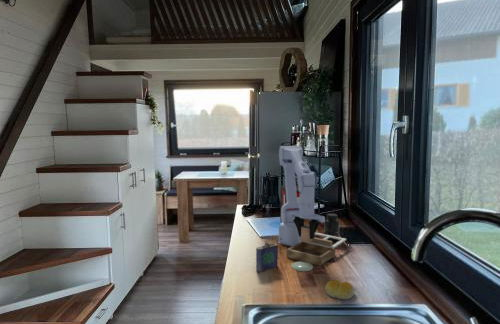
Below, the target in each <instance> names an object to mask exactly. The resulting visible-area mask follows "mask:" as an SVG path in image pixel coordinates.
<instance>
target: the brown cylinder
mask: <svg viewBox="0 0 500 324" xmlns="http://www.w3.org/2000/svg"><path fill="white" fill-rule="evenodd" d="M301 241H303V242H311V241H312V239H310V226H309V224H304V225H302V226H301Z"/></svg>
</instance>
